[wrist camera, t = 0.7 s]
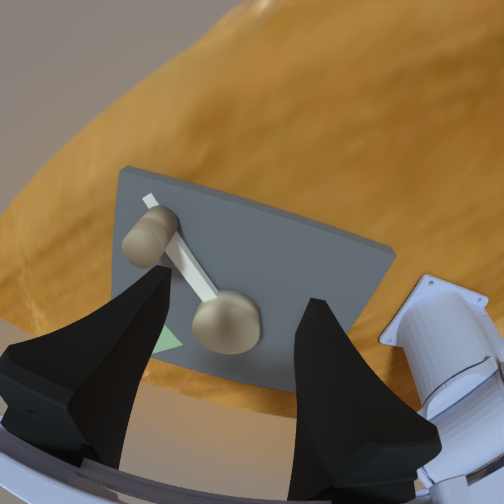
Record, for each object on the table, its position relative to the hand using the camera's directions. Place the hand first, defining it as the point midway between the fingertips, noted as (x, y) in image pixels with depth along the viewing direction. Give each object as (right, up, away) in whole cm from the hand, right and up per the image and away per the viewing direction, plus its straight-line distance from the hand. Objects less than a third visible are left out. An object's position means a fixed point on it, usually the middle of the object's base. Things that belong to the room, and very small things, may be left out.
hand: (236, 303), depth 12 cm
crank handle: (-3, 0, +11) cm, 11 cm away
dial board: (-1, -2, +14) cm, 14 cm away
